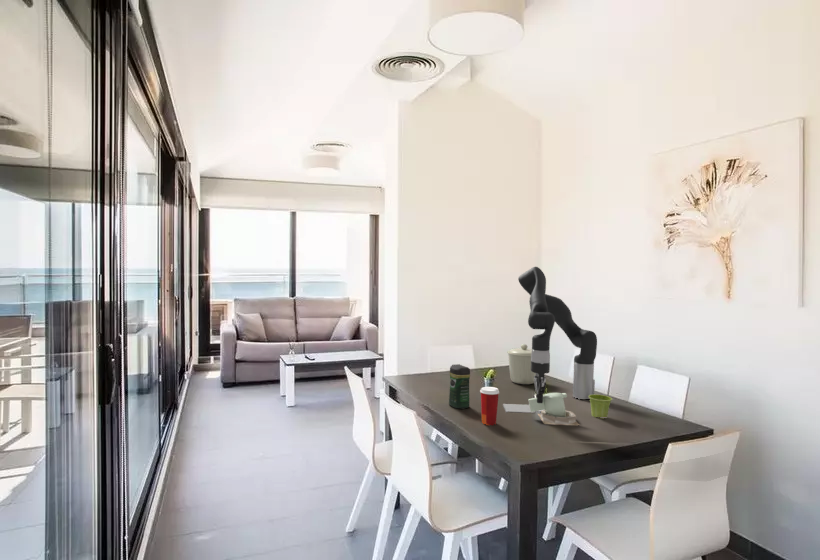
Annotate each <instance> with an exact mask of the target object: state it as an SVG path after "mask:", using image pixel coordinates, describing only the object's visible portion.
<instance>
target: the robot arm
mask: <svg viewBox="0 0 820 560" xmlns="http://www.w3.org/2000/svg"><path fill="white" fill-rule="evenodd" d="M517 281H518V282H519V284H520V286H521V287H522V289H523V290H525V292H527V294H529V309H530V312H529V314H528V318H527V323H528V324H527V325H528V326H529V327H530V328H531V329H532V330H544V331H543V332H542V333H540V334H534V335H533V336H532V338H531V349H532V353H531V371H532V372H534V373H536V376H534V383H533V384H534V390H535V396H536V397H535V398H537V403H543V396H544V395H545V393H546V392H545V391H546V386H547V382H546V379H547V378H546V377H545V374H549V373H550V371H551V370H550V368H551V367H550V366H551V365H550V364H551V353H550V352H551V351H550V342H551V337H552V333H553V329H554V326H555V323H556V325H558V327H559V328H560V329H561V330H562V331H563V333H564V334H565V335H566V336H567V338H568V340H569V341H570V342H571V344H572V345H573V346H574V347H576V348H579V349H580V350H579V351H580V352H579V354H576V355H575V356H574V357H573V358H574V359H573V383H572V384H573V385H572V397H573V398H574V397H575V398H574V399H576V398H578V399H577V400H580V399H589V397H588V396H589V395H595V389H596V388H595V386H596V385H595V384H596V381H595V378H594V377H595V376H594V372H595V371H594V370H595V360H596V357H597V349H598V337H597V334H596V333H595V332H594V331H592V330H588V329H583V328H581V327H580V326H579V325H578V324H577V323H576V322H575V321H574V320H573V317H572V312H571V310H570V308H569V306H568V305H567V304H566V303H565V302H564V301H563V299H561V298H559V297H557V296H554V295H550V294H546V289H547V278H546V275H545V273H544V271H543V270H542V269H541V268H540V267H538V266H533V267H531V268H529V269H528V270H527V271H525V272H523V273H521V274H520V275H519V276H518V280H517Z"/></svg>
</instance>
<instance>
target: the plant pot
mask: <svg viewBox="0 0 820 560" xmlns="http://www.w3.org/2000/svg"><path fill="white" fill-rule="evenodd" d="M588 397H589V399H590V400H589V402H590V410H591V411H590V413H591V414H590V415H591V417H593V416H594V417H593V418H596V417H607V418H608V415H609V409H610V405H611V402H612V401H613V398H612V397H610V396H608V395H603V394H594V395H589V396H588Z"/></svg>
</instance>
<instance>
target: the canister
mask: <svg viewBox="0 0 820 560" xmlns="http://www.w3.org/2000/svg"><path fill="white" fill-rule="evenodd" d="M531 353H532V348H528V345H527V344H525V343H522V344H521V345H520V347H518V348H517V347H516V348H512V349H509V350H507V356H508V367H509V377H510V380H511V381H512V382H513V383H514V384H517V385H519V384H520V385H532V384H535V383H534V376H536V373H534V372H532V371H531Z"/></svg>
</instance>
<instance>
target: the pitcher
mask: <svg viewBox="0 0 820 560" xmlns="http://www.w3.org/2000/svg"><path fill="white" fill-rule="evenodd" d="M565 398H568V395H567V393H566V392H562V393H561V392H548V393H546V394H545V393H544V394H543V403H537V398H536V397H532V398H528V405H529V406H530V411H531V412H538V411H539V412H541V411H542V410H545V412H546V414H547V415H551V416H555V417H566V411H567V410H566V405H565V401H564V400H565ZM565 410H566V411H565Z"/></svg>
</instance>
